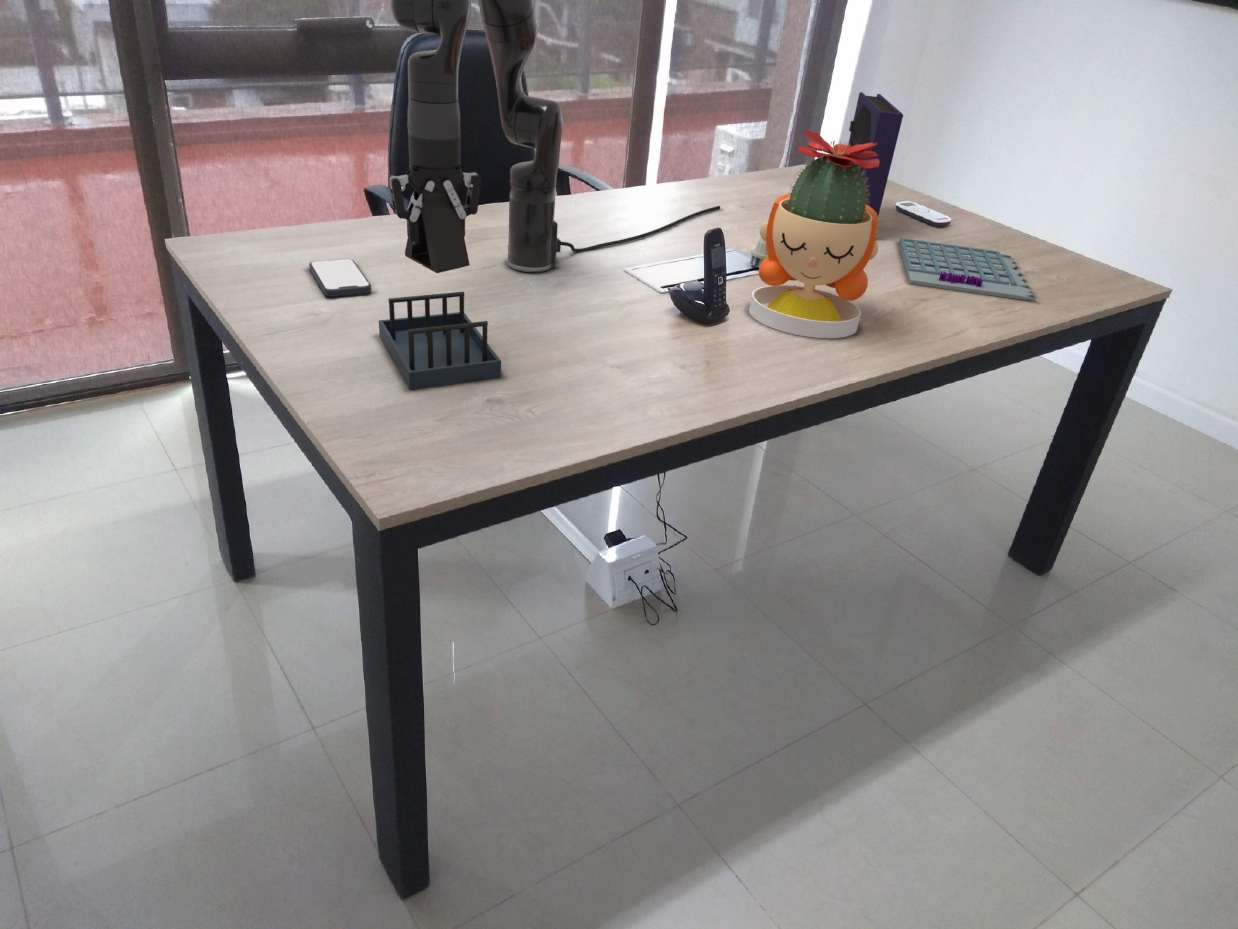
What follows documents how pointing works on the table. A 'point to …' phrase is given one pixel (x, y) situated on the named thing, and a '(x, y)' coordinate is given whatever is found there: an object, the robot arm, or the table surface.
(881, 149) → the book
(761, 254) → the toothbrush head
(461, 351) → the drying rack
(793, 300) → the potted cactus
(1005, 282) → the calendar
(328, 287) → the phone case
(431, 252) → the phone stand
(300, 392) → the table surface
